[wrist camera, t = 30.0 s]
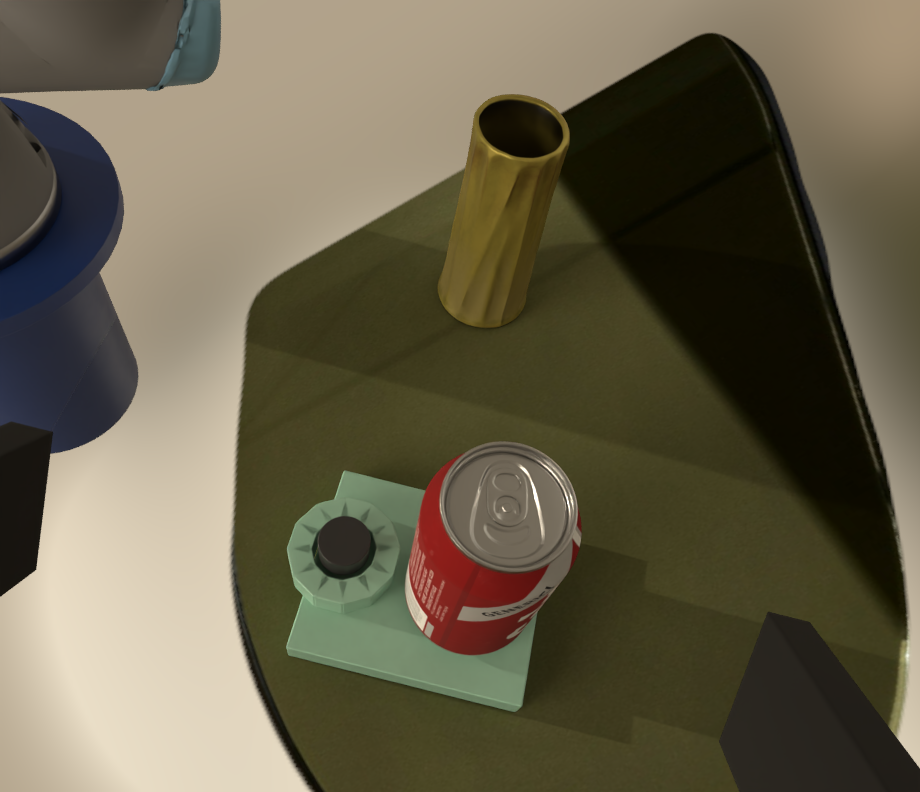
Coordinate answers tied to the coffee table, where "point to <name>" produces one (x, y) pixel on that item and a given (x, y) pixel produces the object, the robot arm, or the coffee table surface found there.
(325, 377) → the coffee table surface
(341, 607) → the scale
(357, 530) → the tare button
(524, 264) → the vase
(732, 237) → the coffee table surface
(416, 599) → the soda can
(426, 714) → the coffee table surface
